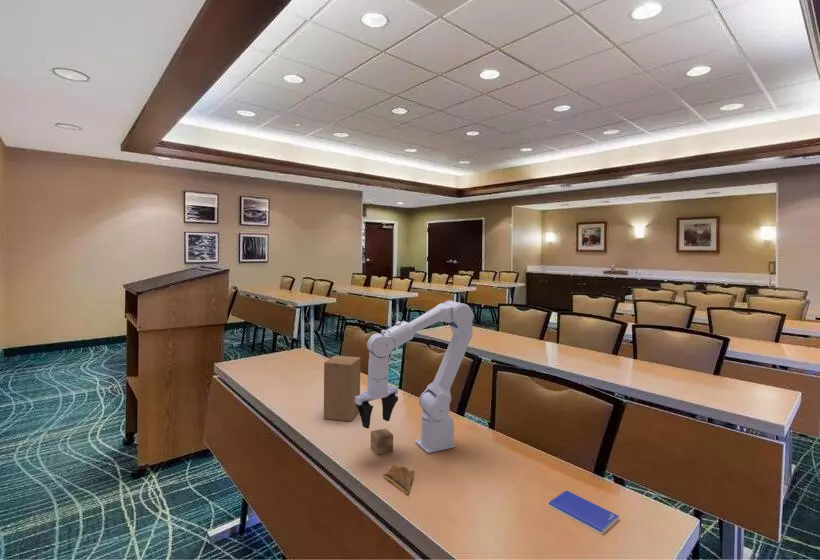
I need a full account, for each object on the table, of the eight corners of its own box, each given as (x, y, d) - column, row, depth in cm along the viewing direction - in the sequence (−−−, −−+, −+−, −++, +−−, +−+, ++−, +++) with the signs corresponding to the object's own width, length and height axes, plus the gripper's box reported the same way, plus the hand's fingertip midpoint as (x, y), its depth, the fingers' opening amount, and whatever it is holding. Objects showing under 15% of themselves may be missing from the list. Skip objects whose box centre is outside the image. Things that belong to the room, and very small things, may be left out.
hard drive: (619, 514, 91) (567, 489, 100) (602, 530, 85) (548, 501, 95) (618, 521, 91) (566, 495, 100) (601, 537, 86) (548, 508, 95)
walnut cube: (386, 444, 124) (386, 428, 123) (392, 451, 119) (393, 435, 119) (370, 447, 122) (370, 431, 121) (376, 455, 117) (377, 438, 117)
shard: (408, 498, 98) (408, 490, 97) (376, 494, 99) (377, 486, 99) (415, 474, 108) (415, 467, 108) (386, 470, 110) (387, 464, 109)
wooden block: (350, 422, 139) (351, 364, 138) (322, 419, 141) (323, 361, 140) (360, 411, 149) (361, 357, 148) (334, 408, 151) (334, 355, 150)
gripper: (387, 369, 124) (385, 413, 125) (348, 378, 114) (347, 425, 114) (403, 374, 119) (401, 420, 120) (365, 384, 109) (363, 434, 110)
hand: (376, 423), depth 117 cm, fingers open, 7 cm apart
